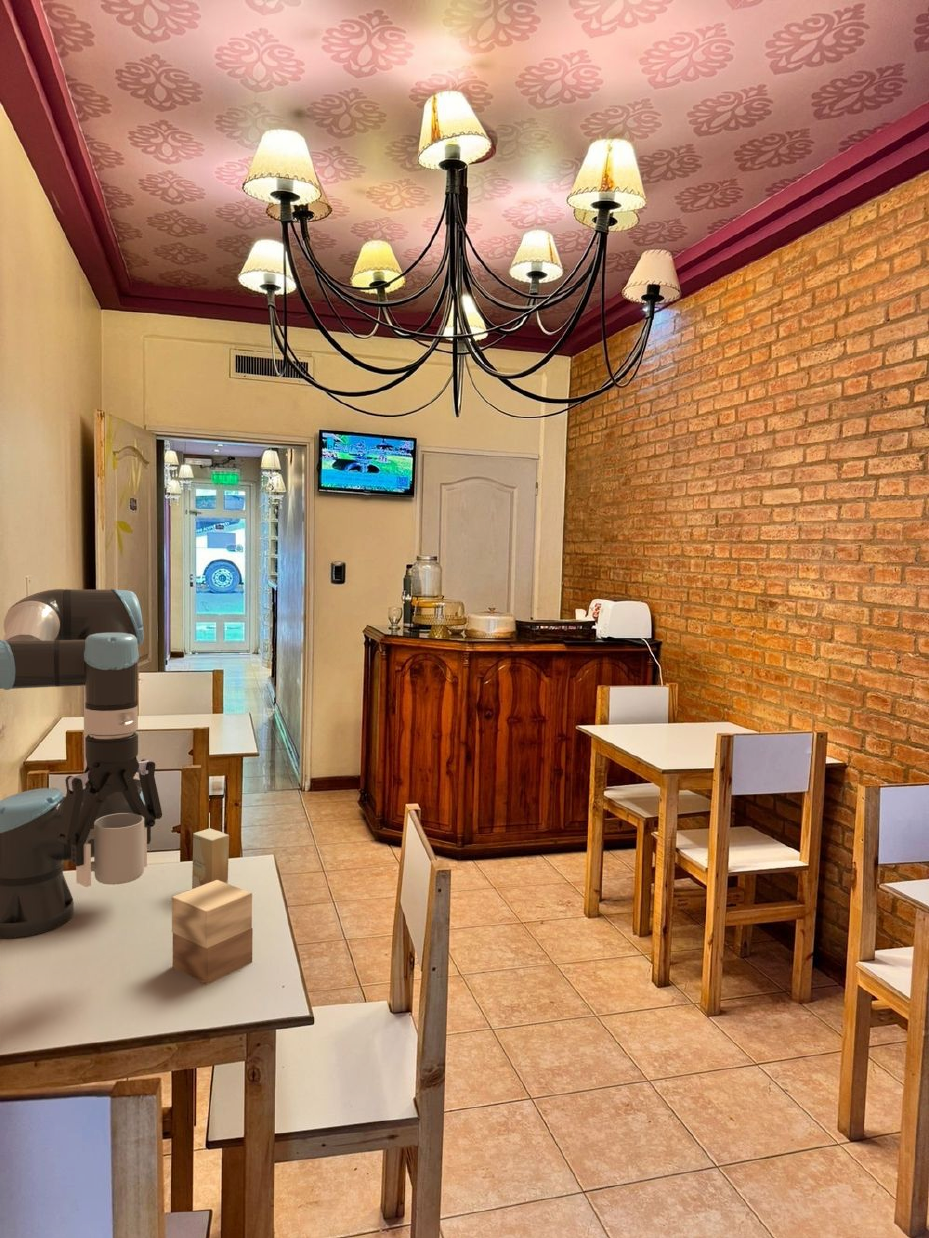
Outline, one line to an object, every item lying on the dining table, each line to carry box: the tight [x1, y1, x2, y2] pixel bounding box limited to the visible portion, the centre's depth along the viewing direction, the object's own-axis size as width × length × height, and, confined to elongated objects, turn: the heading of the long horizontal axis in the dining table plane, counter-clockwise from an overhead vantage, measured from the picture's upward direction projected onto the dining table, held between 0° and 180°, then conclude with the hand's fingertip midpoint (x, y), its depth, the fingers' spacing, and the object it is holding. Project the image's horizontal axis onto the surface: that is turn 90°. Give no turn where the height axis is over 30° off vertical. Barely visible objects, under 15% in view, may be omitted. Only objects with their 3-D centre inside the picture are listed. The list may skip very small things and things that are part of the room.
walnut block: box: [172, 927, 254, 985], centre depth 134 cm, size 9×9×6 cm
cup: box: [86, 813, 145, 885], centre depth 126 cm, size 7×10×9 cm
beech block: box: [171, 880, 253, 948], centre depth 133 cm, size 9×9×6 cm
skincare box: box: [191, 827, 230, 889], centre depth 162 cm, size 6×4×12 cm
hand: (112, 874), depth 127 cm, fingers closed on cup, 9 cm apart
